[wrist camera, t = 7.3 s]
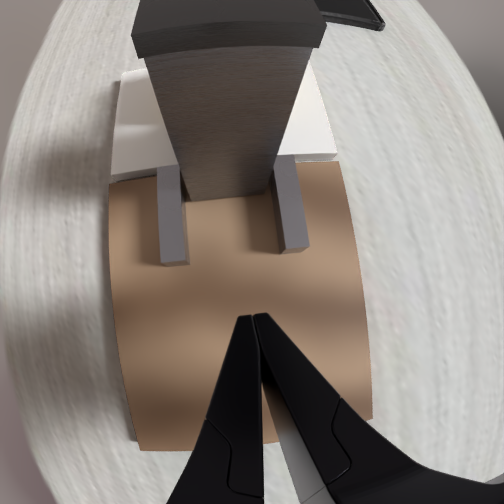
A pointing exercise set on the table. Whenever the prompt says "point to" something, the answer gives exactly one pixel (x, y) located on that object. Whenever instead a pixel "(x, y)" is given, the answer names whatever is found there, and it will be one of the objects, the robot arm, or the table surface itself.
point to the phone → (351, 13)
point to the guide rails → (283, 199)
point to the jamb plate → (159, 145)
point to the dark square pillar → (226, 83)
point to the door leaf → (231, 299)
